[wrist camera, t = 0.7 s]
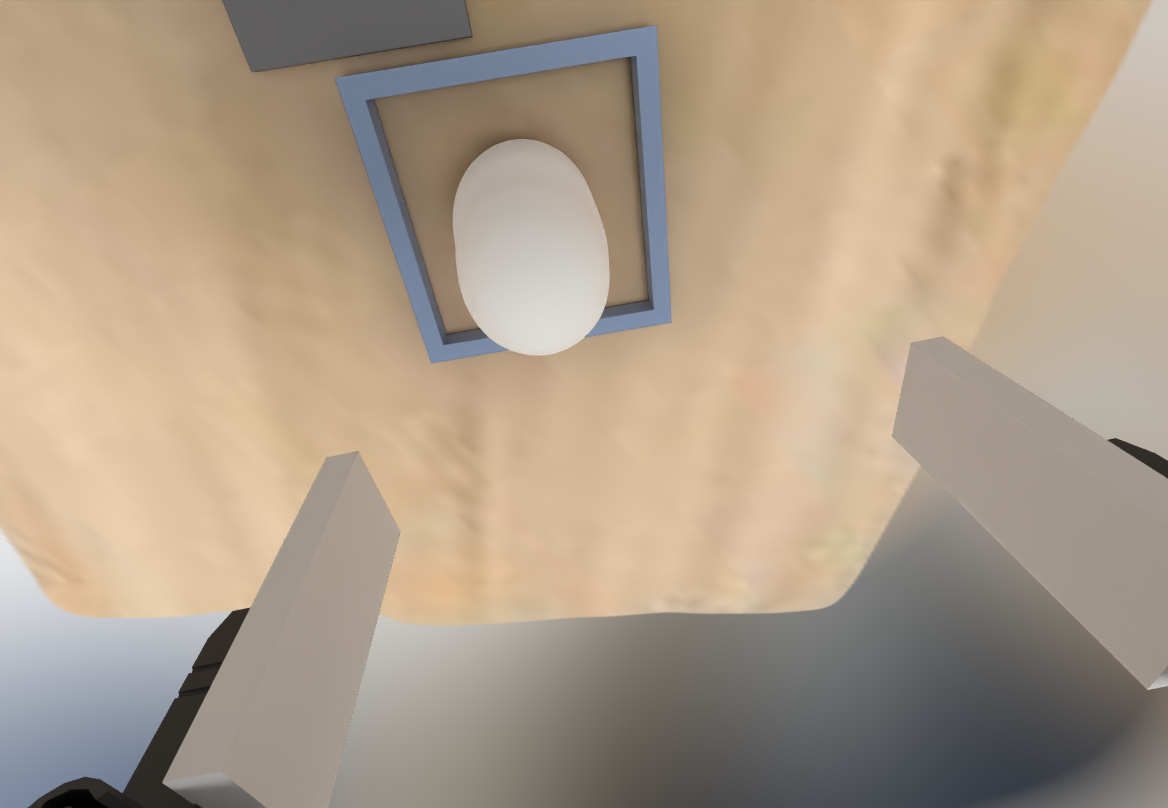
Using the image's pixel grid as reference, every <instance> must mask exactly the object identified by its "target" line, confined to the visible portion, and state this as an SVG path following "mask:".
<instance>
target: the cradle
mask: <svg viewBox="0 0 1168 808" xmlns="http://www.w3.org/2000/svg"><path fill="white" fill-rule="evenodd" d="M625 57H631V67H632V81H633V95H634V108H635V122H636V135H637V149H638V162H639V176H640V189H641V203H642V216H643V230H644V243H645V257H646V270H647V284H648V297H649V300H648V301H642V302H637V303H631V304H625V305H619V306H613V307H607V308H604V310H603V313H602V315H601V317H600V319H599V320H598V322H597V323H596V325H595V326H594V327H593V329H592V330H591V331H590V332H589V333H588V334H587V335H586V336H585V337H589V336H595V335H601V334H607V333H613V332H619V331H624V330H630V329H636V328H642V327H648V326H654V325H660V324H666V323H671V302H670V282H669V262H668V242H667V222H666V202H665V182H664V162H663V142H662V122H661V102H660V82H659V61H658V41H657V25H655V26H648V27H642V28H636V29H630V30H624V31H618V32H612V33H606V34H600V35H594V36H587V37H581V38H575V39H569V40H563V41H557V42H551V43H545V44H539V45H533V46H526V47H520V48H514V49H508V50H502V51H496V52H490V53H484V54H478V55H472V56H466V57H459V58H453V59H447V60H441V61H435V62H429V63H423V64H417V65H411V66H405V67H398V68H392V69H386V70H380V71H374V72H368V73H362V74H356V75H350V76H344V77H337V78H335V80H336V83H337V86H338V89H339V92H340V95H341V98H342V101H343V104H344V107H345V110H346V113H347V116H348V119H349V121H350V124H351V127H352V130H353V133H354V136H355V139H356V142H357V145H358V148H359V151H360V154H361V157H362V160H363V163H364V166H365V169H366V172H367V175H368V178H369V181H370V184H371V186H372V189H373V192H374V195H375V198H376V201H377V204H378V207H379V210H380V213H381V216H382V219H383V222H384V225H385V228H386V231H387V234H388V237H389V240H390V243H391V246H392V249H393V251H394V254H395V257H396V260H397V263H398V266H399V269H400V272H401V275H402V278H403V281H404V284H405V287H406V290H407V293H408V296H409V299H410V302H411V305H412V308H413V311H414V314H415V316H416V319H417V322H418V325H419V328H420V331H421V334H422V337H423V340H424V343H425V346H426V349H427V352H428V355H429V358H430V361H431V363H436V362H442V361H448V360H454V359H460V358H466V357H472V356H477V355H483V354H489V353H495V352H501V351H507V350H508V349H506V348H504V347H502V346H500V345H499V344H497V343H495V342H494V341H493V340H491V339H490V338H489V337H488V336H487V335H486V334H485V333H484V332H483V331H482V330H481V329H477V330H471V331H466V332H460V333H454V334H448V335H446V332H445V329H444V325H443V322H442V319H441V316H440V313H439V309H438V306H437V303H436V300H435V296H434V293H433V290H432V287H431V283H430V280H429V277H428V274H427V271H426V267H425V264H424V261H423V258H422V254H421V251H420V248H419V245H418V242H417V238H416V235H415V232H414V229H413V225H412V222H411V219H410V216H409V213H408V209H407V206H406V203H405V200H404V196H403V193H402V190H401V187H400V183H399V180H398V177H397V174H396V171H395V167H394V164H393V161H392V158H391V154H390V151H389V148H388V145H387V142H386V138H385V135H384V132H383V129H382V125H381V122H380V119H379V116H378V113H377V109H376V106H375V103H374V100H373V99H376V98H382V97H388V96H394V95H400V94H406V93H412V92H418V91H424V90H430V89H436V88H442V87H449V86H455V85H461V84H467V83H473V82H479V81H485V80H491V79H497V78H503V77H509V76H515V75H521V74H528V73H534V72H540V71H546V70H552V69H558V68H564V67H570V66H576V65H582V64H588V63H594V62H600V61H607V60H613V59H619V58H625Z"/></svg>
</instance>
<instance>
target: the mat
mask: <svg viewBox="0 0 1168 808" xmlns="http://www.w3.org/2000/svg"><path fill="white" fill-rule="evenodd" d="M222 1H223V4H224V6H225V8H226V11H227V13H228V16H229V18H230V21H231V23H232V25H233V28H234V30H235V33H236V35H237V38H238V40H239V43H240V45H241V47H242V50H243V52H244V55H245V57H246V60H247V62H248V64H249V67H250V69H251V72H260V71H266V70H273V69H279V68H285V67H291V66H297V65H303V64H309V63H315V62H321V61H328V60H334V59H340V58H346V57H352V56H358V55H364V54H370V53H376V52H383V51H389V50H395V49H401V48H407V47H413V46H419V45H425V44H431V43H438V42H444V41H450V40H456V39H462V38H468V37H472V32H471V27H470V22H469V18H468V13H467V8H466V3H465V0H222Z"/></svg>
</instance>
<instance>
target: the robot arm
mask: <svg viewBox="0 0 1168 808" xmlns="http://www.w3.org/2000/svg"><path fill="white" fill-rule="evenodd" d="M892 437H893V438H894V439H895V440H896V441H897V442H898V443H899V444H900V445H901V446H902V447H903V448H904V449H905V450H906V451H907V452H908V453H909V454H910V455H911V456H912V457H913V458H914V459H915V460H916V461H917V462H918V463H919V464H920V465H922V466H923V467H924V468H925V469H926V470H927V471H928V472H929V473H930V474H931V475H932V476H933V477H934V478H935V479H936V480H937V481H938V482H939V483H940V484H941V485H942V486H943V487H944V488H945V489H946V490H947V491H948V492H949V493H950V494H951V495H952V496H953V497H954V498H955V499H956V500H957V501H958V502H959V503H960V504H961V505H962V506H963V507H964V508H965V509H966V510H967V511H968V512H969V513H970V514H971V515H972V516H973V517H974V518H975V519H976V520H977V521H978V522H979V523H980V524H981V525H982V526H983V527H984V528H985V529H986V530H987V531H988V532H989V533H990V534H991V535H992V536H993V537H994V538H995V539H996V540H997V541H998V542H999V543H1000V544H1001V545H1002V546H1003V547H1004V548H1005V549H1006V550H1007V551H1008V552H1009V553H1010V554H1011V555H1012V556H1013V557H1014V558H1015V559H1017V561H1018V562H1019V563H1020V564H1021V565H1023V566H1024V568H1025V569H1026V570H1027V571H1028V572H1029V573H1030V574H1031V575H1032V576H1033V577H1034V578H1035V579H1036V580H1037V581H1038V582H1040V583H1041V584H1042V585H1043V586H1044V587H1045V588H1046V589H1047V590H1048V591H1049V592H1050V593H1051V594H1052V595H1053V596H1054V597H1055V598H1056V599H1057V600H1058V601H1059V602H1060V603H1061V604H1062V605H1063V606H1064V607H1065V608H1066V609H1067V610H1068V611H1069V612H1070V613H1071V614H1072V615H1073V616H1074V617H1075V618H1076V619H1077V620H1078V621H1079V622H1080V623H1081V624H1082V625H1083V626H1084V627H1085V628H1086V629H1087V630H1088V631H1089V632H1090V633H1091V634H1092V635H1093V636H1094V637H1095V638H1096V639H1097V640H1098V641H1099V642H1100V643H1101V644H1102V645H1103V646H1104V647H1105V648H1106V649H1107V650H1108V651H1109V652H1110V653H1111V654H1112V655H1113V656H1114V657H1115V658H1116V659H1117V660H1118V661H1119V662H1120V663H1121V664H1122V665H1123V666H1124V667H1125V668H1127V670H1128V671H1129V672H1130V673H1131V674H1132V675H1133V676H1134V677H1136V678H1137V680H1138V681H1139V682H1140V683H1142V685H1143V686H1144V687H1145V688H1146V689H1154V688H1159V687H1165V686H1168V461H1167V460H1165V459H1164V458H1162V457H1160V456H1159V455H1157V454H1155V453H1153V452H1150V451H1148V450H1145V449H1143V448H1140V447H1137V446H1134V445H1132V444H1130V443H1127V442H1124V441H1122V440H1119V439H1116V438H1115V439H1109V440H1106V439H1104V438H1103V437H1101V436H1100V435H1098V434H1096V433H1095V432H1093V431H1092V430H1090V429H1088V428H1087V427H1085V426H1084V425H1082V424H1081V423H1079V422H1077V421H1076V420H1074V419H1073V418H1071V417H1070V416H1068V415H1066V414H1065V413H1063V412H1062V411H1060V410H1059V409H1057V408H1055V407H1054V406H1052V405H1051V404H1049V403H1048V402H1046V401H1044V400H1043V399H1041V398H1040V397H1038V396H1036V395H1035V394H1033V393H1032V392H1030V391H1028V390H1027V389H1025V388H1024V387H1022V386H1021V385H1019V384H1017V383H1016V382H1014V381H1013V380H1011V379H1010V378H1008V377H1006V376H1005V375H1003V374H1002V373H1000V372H999V371H997V370H995V369H994V368H992V367H991V366H989V365H987V364H986V363H984V362H983V361H981V360H980V359H978V358H976V357H975V356H973V355H972V354H970V353H969V352H967V351H965V350H964V349H962V348H961V347H959V346H958V345H956V344H954V343H953V342H951V341H950V340H948V339H947V338H945V337H939V338H933V339H928V340H923V341H918V342H913V343H911V345H910V350H909V355H908V360H907V365H906V370H905V375H904V380H903V385H902V389H901V394H900V399H899V404H898V409H897V414H896V419H895V424H894V429H893V434H892ZM399 536H400V530H399V528H398V526H397V524H396V522H395V520H394V518H393V517H392V515H391V513H390V511H389V509H388V507H387V505H386V503H385V501H384V499H383V497H382V495H381V494H380V492H379V490H378V488H377V486H376V484H375V482H374V480H373V478H372V476H371V474H370V472H369V471H368V469H367V467H366V465H365V463H364V461H363V459H362V457H361V455H360V453H359V451H356V452H351V453H346V454H341V455H336V456H331V457H326V459H325V461H324V463H323V465H322V467H321V469H320V471H319V473H318V475H317V477H316V479H315V481H314V483H313V485H312V487H311V489H310V491H309V493H308V495H307V497H306V499H305V501H304V503H303V505H302V507H301V509H300V511H299V513H298V515H297V517H296V519H295V521H294V523H293V524H292V526H291V528H290V530H289V532H288V534H287V536H286V538H285V540H284V542H283V544H282V546H281V548H280V550H279V552H278V554H277V556H276V558H275V560H274V562H273V564H272V566H271V568H270V570H269V572H268V574H267V576H266V578H265V580H264V582H263V584H262V586H261V588H260V590H259V592H258V594H257V596H256V598H255V600H254V602H253V604H252V606H251V608H246V609H241V610H236V611H232V612H231V614H230V615H229V616H228V617H227V618H226V619H225V620H224V621H223V623H222V624H221V625H220V626H219V627H218V628H217V629H216V630H215V631H214V632H213V633H212V635H211V636H210V637H209V638H208V640H207V642H206V643H205V645H204V647H203V648H202V650H201V652H200V654H199V656H198V658H197V660H196V661H195V663H194V665H193V667H192V669H193V671H192V673H189V674H188V676H187V678H186V679H185V681H184V683H183V685H182V687H181V688H180V690H179V697H178V698H176V699H174V701H173V703H172V705H171V707H170V708H169V710H168V712H167V714H166V716H165V717H164V719H163V721H162V723H161V725H160V727H159V728H158V730H157V732H156V734H155V735H154V737H153V739H152V741H151V743H150V744H149V746H148V748H147V750H146V752H145V754H144V755H143V757H142V759H141V761H140V763H139V765H138V766H137V768H136V770H135V772H134V773H133V775H132V777H131V779H130V781H129V783H128V784H127V786H126V788H125V790H124V792H123V793H120V792H119V791H118V790H116V789H114V788H113V787H111V786H110V785H108V784H107V783H105V782H103V781H102V780H100V779H95V778H89V777H83V778H80V779H77V780H73V781H70V782H67V783H64V784H62V785H60V786H59V787H57V788H55V789H54V790H52V791H50V792H49V793H47V794H45V795H44V796H42V797H40V798H39V799H38V800H37V801H35V802H34V803H33V804H32V805H31V806H30V807H28V808H328V805H329V801H330V798H331V794H332V790H333V787H334V782H335V779H336V775H337V771H338V767H339V764H340V760H341V756H342V752H343V748H344V745H345V741H346V737H347V733H348V729H349V726H350V722H351V718H352V714H353V711H354V706H355V703H356V699H357V695H358V692H359V688H360V684H361V680H362V676H363V673H364V669H365V665H366V661H367V657H368V653H369V650H370V646H371V642H372V638H373V634H374V631H375V627H376V623H377V619H378V616H379V612H380V608H381V604H382V600H383V597H384V593H385V589H386V585H387V581H388V578H389V574H390V570H391V566H392V562H393V559H394V555H395V551H396V547H397V543H398V540H399Z"/></svg>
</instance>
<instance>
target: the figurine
mask: <svg viewBox="0 0 1168 808" xmlns="http://www.w3.org/2000/svg"><path fill="white" fill-rule="evenodd" d="M453 235H454V241H455V246H456V268H457V275H458V280H459V285H460V290H461V293H462V297H463V300H464V302H465V305H466V307H467V309H468V311H469V313H470V315H471V316H472V318H473V319H474V321H475V322H476V324H477V325H478V326H479V328H480V329H481V330H482V331H483V332H484V333H485V334H486V335H487V336H488V337H489V338H490V339H491V340H493V341H494V342H495V343H497V344H499V345H500V346H502V347H504V348H506V349H508V350H511V351H514V352H517V353H521V354H526V355H550V354H554V353H558V352H561V351H563V350H566V349H568V348H570V347H571V346H573V345H575V344H576V343H578V342H579V341H580V340H582V339H583V338H584V337H585V336H586V335H587V334H588V333H589V332H590V331H591V330H592V329H593V327H594V326H595V325H596V323H597V322H598V320H599V319H600V317H601V315H602V313H603V310H604V308H605V305H606V301H607V297H608V292H609V283H610V271H609V253H608V244H607V239H606V234H605V230H604V227H603V223H602V220H601V217H600V215H599V212H598V209H597V207H596V204H595V201H594V199H593V196H592V194H591V191H590V189H589V187H588V184H587V182H586V180H585V179H584V177H583V175H582V174H581V172H580V171H579V169H578V168H577V166H576V165H575V164H574V163H573V162H572V161H571V160H570V159H569V158H568V157H567V156H566V155H565V154H563V153H562V152H561V151H559V150H558V149H556V148H554V147H552V146H550V145H548V144H546V143H543V142H540V141H536V140H530V139H514V140H508V141H504V142H501V143H499V144H496V145H494V146H492V147H490V148H489V149H487V150H486V151H484V152H483V153H482V154H480V155H479V156H478V157H477V158H476V159H475V160H474V161H473V162H472V163H471V165H470V166H469V167H468V169H467V170H466V172H465V174H464V175H463V177H462V179H461V181H460V184H459V186H458V189H457V193H456V197H455V201H454V208H453Z"/></svg>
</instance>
